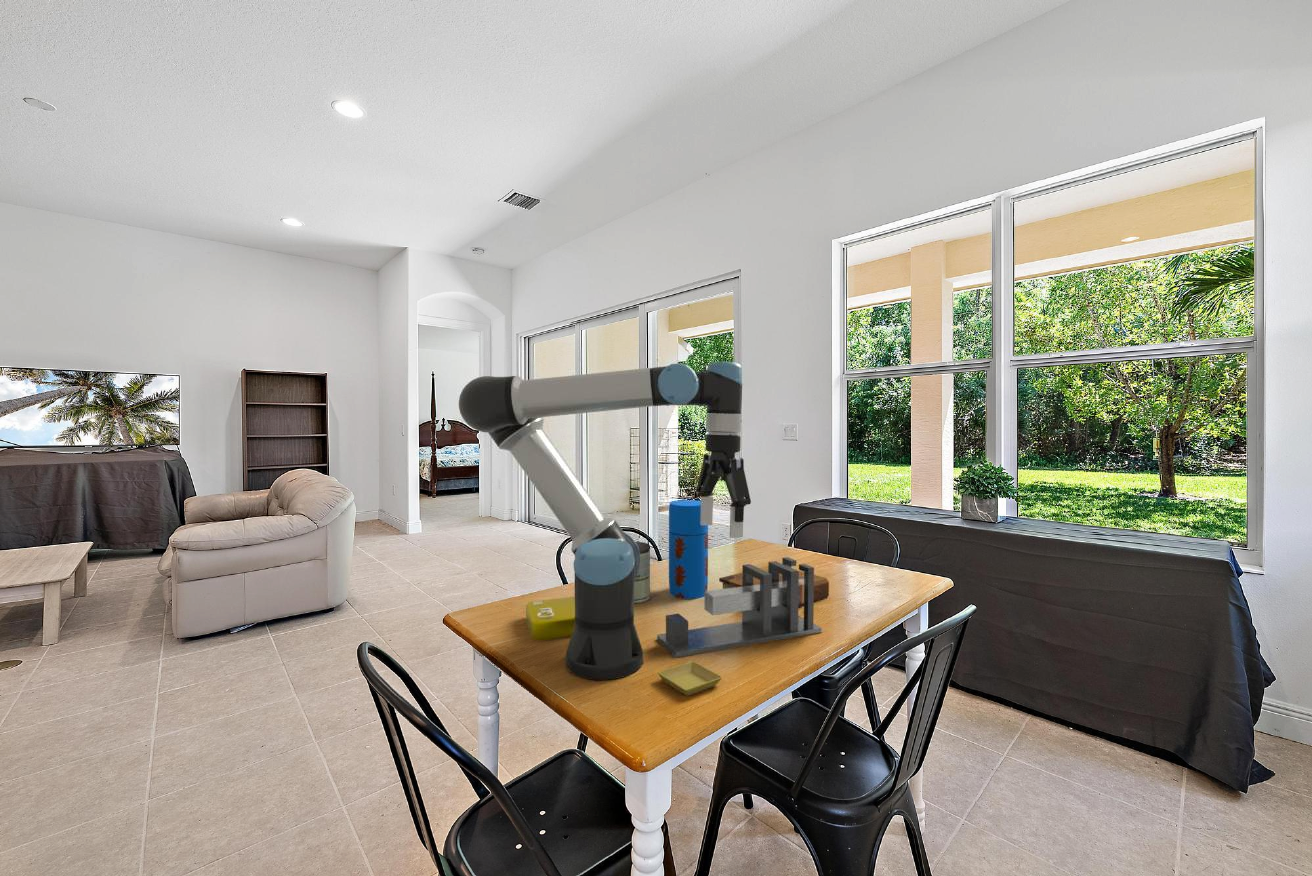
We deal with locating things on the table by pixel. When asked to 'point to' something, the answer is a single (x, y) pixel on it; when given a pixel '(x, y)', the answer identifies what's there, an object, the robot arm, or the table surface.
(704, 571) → the thermos
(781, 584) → the light grey square rod
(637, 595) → the coffee can
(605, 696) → the table surface
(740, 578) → the diary
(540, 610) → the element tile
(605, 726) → the table surface
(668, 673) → the saucer
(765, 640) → the grey slotted frame stand
